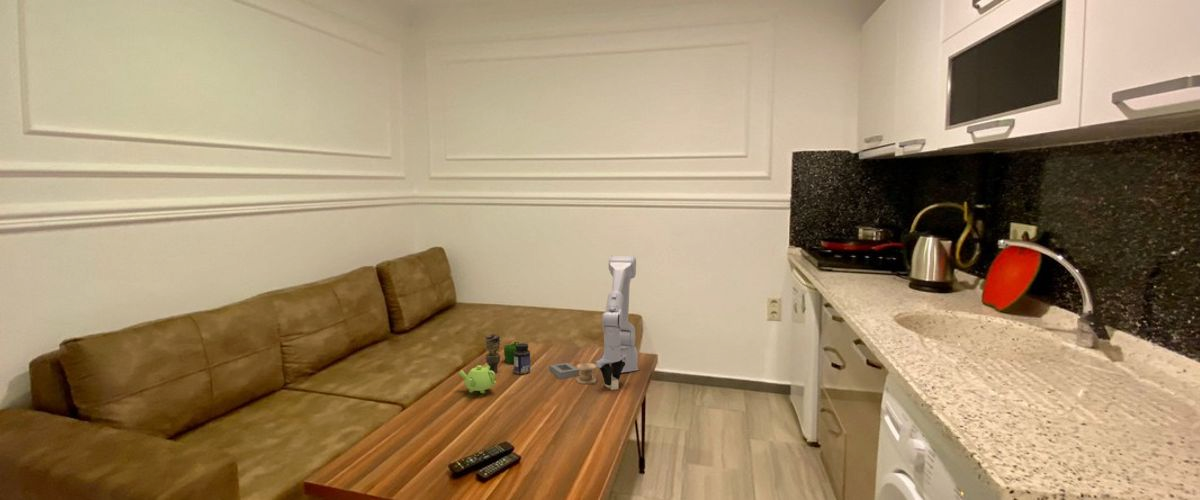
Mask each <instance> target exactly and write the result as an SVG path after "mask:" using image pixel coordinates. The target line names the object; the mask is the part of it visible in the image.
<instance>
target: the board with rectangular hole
mask: <svg viewBox="0 0 1200 500" xmlns="http://www.w3.org/2000/svg"><path fill="white" fill-rule="evenodd" d="M549 371H550V372H551V373H552V374H554V376H555V377H556V378H558V379H559V380H562V379H563V380H564V379H568V378H574V377H580V370H578V369H577V366H574V365H573V364H571V363H569V362H564V363H557V364H550V365H549Z"/></svg>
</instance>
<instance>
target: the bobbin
mask: <svg viewBox="0 0 1200 500" xmlns="http://www.w3.org/2000/svg"><path fill="white" fill-rule="evenodd" d="M576 368H577V369H578V370H579V371H580V375H579V376H577V378H576V382H577V383H578V384H582V385H591V384H595V383H596V382H597V378H596V377H595V376H593V371H595V370H596V369H597V367H596V363H590V362H584V363H583V362H582V363H578V364H577V365H576Z"/></svg>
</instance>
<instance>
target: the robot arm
mask: <svg viewBox="0 0 1200 500" xmlns="http://www.w3.org/2000/svg"><path fill="white" fill-rule="evenodd" d="M608 270H609V272H610V275H611V276H612V284H611V285H612V286H611V292H609V293H608V295H607V300H606V306H605V311H604V312H603V313H602V315H601V316H602V318H601V321H602V322H601V324H602V332H603V355H602V356H601V358H600V359H597V360H596V361H595V365H596V368H599V370H600V372H601V374H602V377H603V381H604V385H605V384H606V385H611V376H613V377H615V378H616V379H618V383H619V381H620V378H621V374H622V373H630V372H634V371H639V367H638V365H639V364H638V363H639V359H638V358H639V355H638V349H637V347H636V346H635V344H636V328H635V325H633V324H632V323H631V322H630V321H629V311H630V310H629V307H630V284H631V281H632V279H634V278H636V274H637V258H636V257H635V255H633V256H627V255H623V256H621V255H620V256H619V255H618V256H617V255H610V257H608Z"/></svg>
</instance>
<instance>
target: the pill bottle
mask: <svg viewBox="0 0 1200 500" xmlns="http://www.w3.org/2000/svg"><path fill="white" fill-rule="evenodd" d="M513 370H514V371H513V373H514V374H515V375H517V376H518V375H519V376H523V375H524V376H525V374H526V375H528V374H530V373H531V351H530V350H529V344H528V343H525V342H523V343H520V342H519V344H517V343H516V351H515V352H514V364H513Z"/></svg>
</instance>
